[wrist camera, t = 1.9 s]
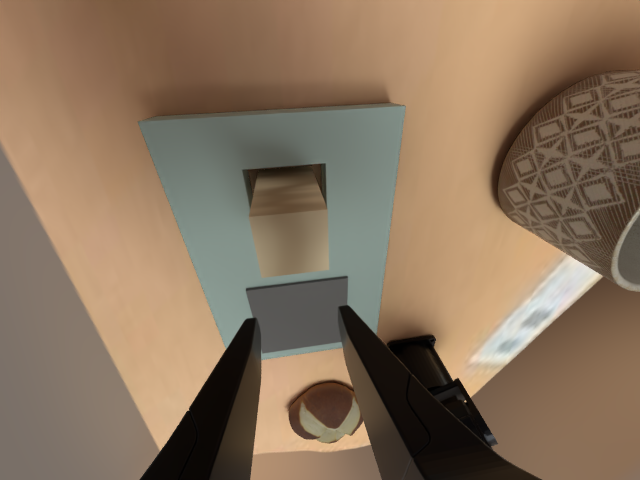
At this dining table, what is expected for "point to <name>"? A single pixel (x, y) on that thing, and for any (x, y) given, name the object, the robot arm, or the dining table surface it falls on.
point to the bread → (326, 413)
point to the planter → (582, 175)
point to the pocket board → (236, 198)
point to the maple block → (289, 222)
